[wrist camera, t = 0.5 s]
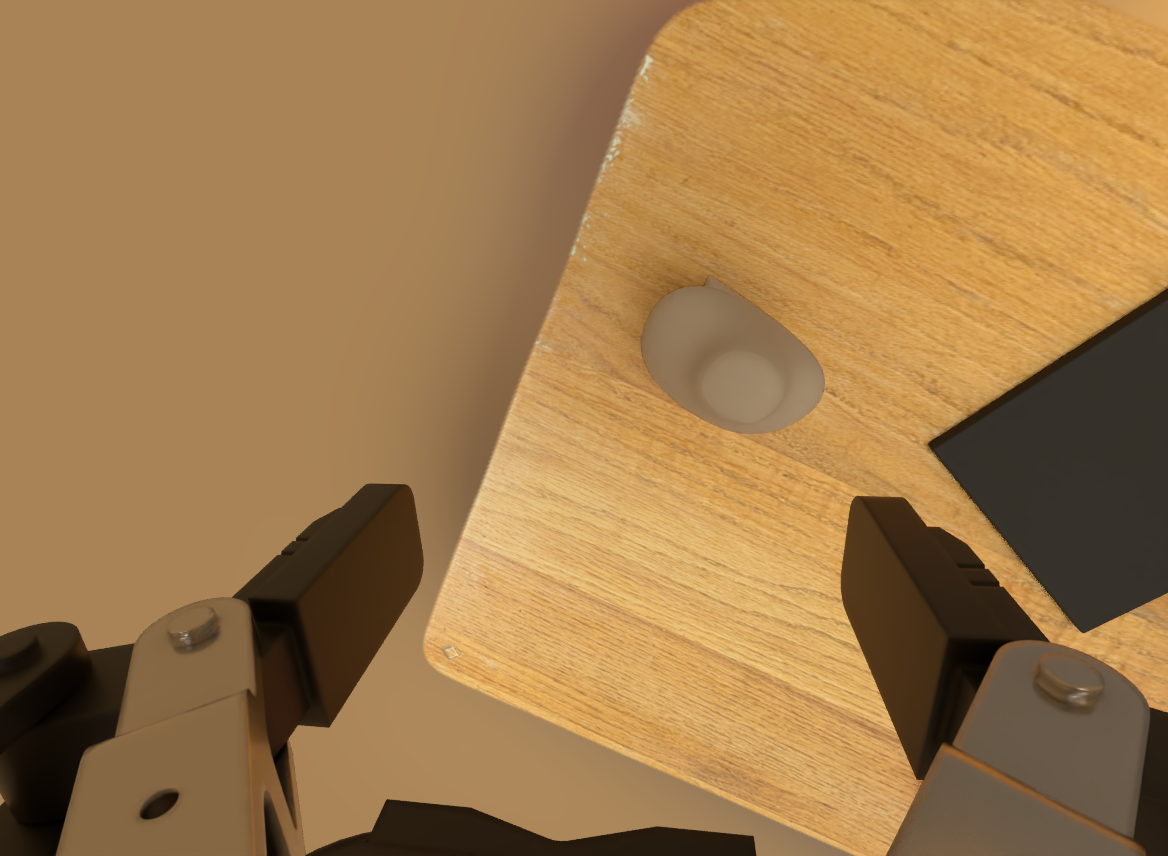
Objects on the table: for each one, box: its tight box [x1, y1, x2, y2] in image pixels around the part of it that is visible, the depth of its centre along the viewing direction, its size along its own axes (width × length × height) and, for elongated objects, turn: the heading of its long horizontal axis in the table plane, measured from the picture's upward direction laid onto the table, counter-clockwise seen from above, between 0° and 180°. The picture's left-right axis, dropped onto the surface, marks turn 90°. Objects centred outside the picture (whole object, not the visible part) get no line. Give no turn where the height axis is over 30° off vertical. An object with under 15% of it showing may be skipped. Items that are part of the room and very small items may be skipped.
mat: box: [928, 290, 1168, 633], centre depth 30 cm, size 15×15×1 cm
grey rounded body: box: [641, 276, 825, 434], centre depth 26 cm, size 8×5×12 cm
